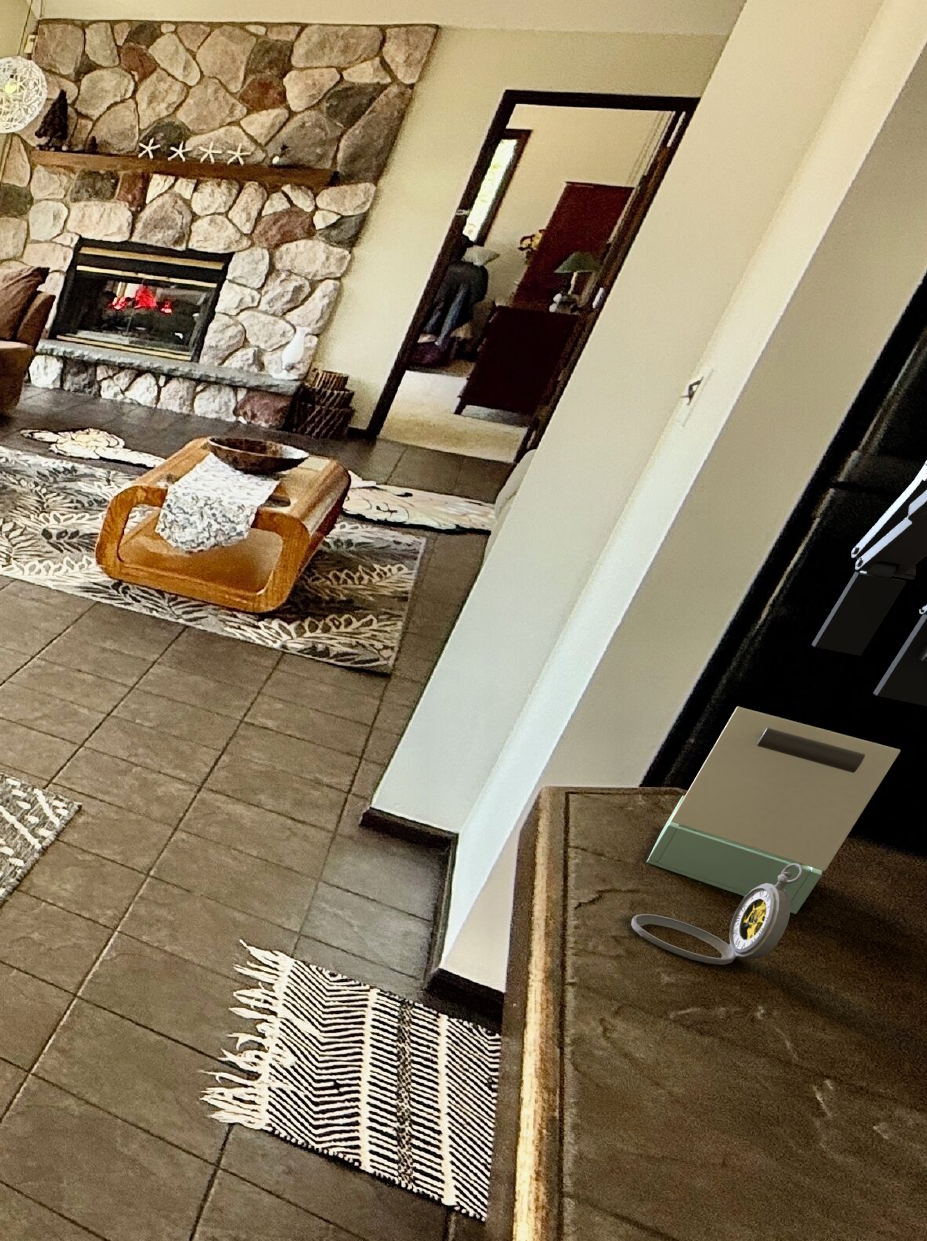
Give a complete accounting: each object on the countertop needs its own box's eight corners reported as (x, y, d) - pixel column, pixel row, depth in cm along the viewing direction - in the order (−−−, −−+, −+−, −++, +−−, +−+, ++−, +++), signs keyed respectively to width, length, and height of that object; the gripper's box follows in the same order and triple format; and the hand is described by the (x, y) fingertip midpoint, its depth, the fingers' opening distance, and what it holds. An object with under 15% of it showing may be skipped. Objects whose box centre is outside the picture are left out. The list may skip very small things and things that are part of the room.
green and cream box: (660, 833, 124) (682, 795, 122) (801, 880, 116) (828, 840, 114) (644, 865, 117) (668, 825, 115) (794, 917, 110) (821, 875, 108)
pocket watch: (607, 920, 106) (663, 826, 102) (697, 927, 106) (756, 833, 102) (695, 977, 99) (759, 878, 95) (792, 984, 99) (859, 886, 95)
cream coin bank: (737, 706, 112) (739, 707, 106) (900, 749, 105) (912, 753, 98) (670, 820, 115) (669, 828, 109) (824, 870, 108) (831, 881, 102)
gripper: (892, 379, 95) (753, 621, 104) (1043, 415, 76) (857, 708, 84) (1030, 394, 91) (874, 644, 100) (1226, 436, 72) (1012, 740, 81)
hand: (866, 674), depth 92 cm, fingers open, 13 cm apart
